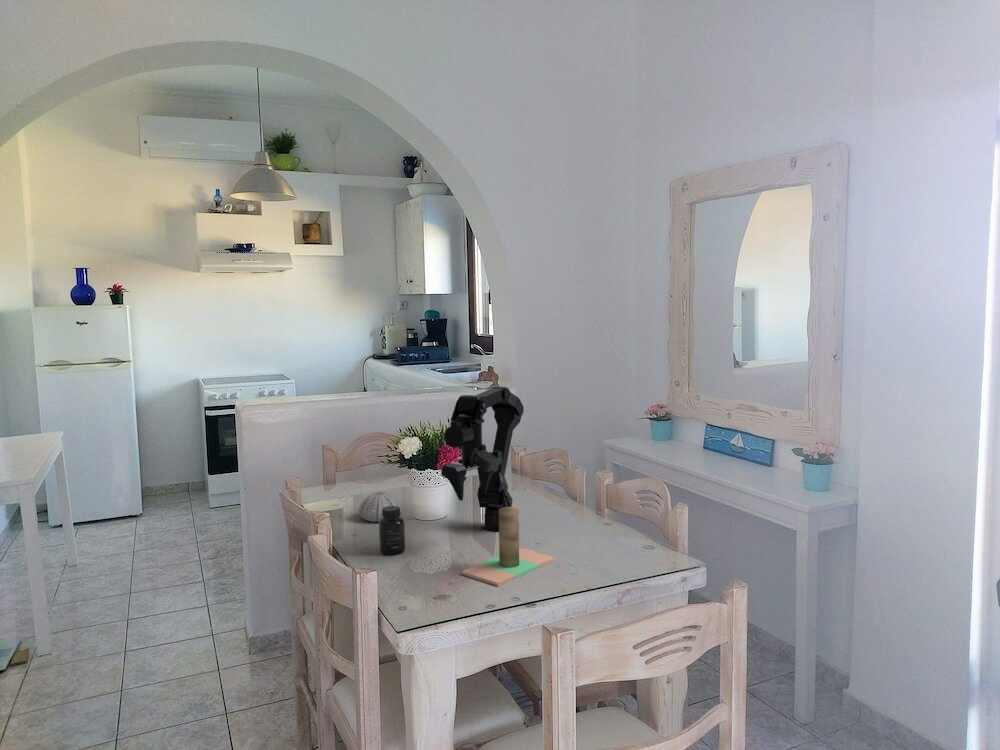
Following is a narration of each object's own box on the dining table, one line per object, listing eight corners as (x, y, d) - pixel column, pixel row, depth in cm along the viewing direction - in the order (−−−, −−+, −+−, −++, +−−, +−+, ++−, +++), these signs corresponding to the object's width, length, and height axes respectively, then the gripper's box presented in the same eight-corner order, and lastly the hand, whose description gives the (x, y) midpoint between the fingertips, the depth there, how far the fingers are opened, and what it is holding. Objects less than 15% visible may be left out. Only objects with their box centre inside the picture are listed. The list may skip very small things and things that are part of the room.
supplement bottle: (377, 549, 198) (376, 506, 197) (402, 546, 200) (400, 503, 199) (382, 557, 191) (381, 513, 190) (408, 554, 194) (406, 510, 193)
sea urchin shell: (401, 510, 235) (400, 486, 234) (402, 523, 221) (401, 497, 221) (359, 513, 233) (358, 488, 232) (358, 525, 219) (357, 500, 219)
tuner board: (519, 550, 195) (519, 547, 195) (554, 560, 187) (554, 557, 187) (461, 574, 179) (461, 571, 179) (498, 586, 171) (498, 583, 171)
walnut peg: (502, 559, 186) (501, 506, 185) (521, 561, 185) (520, 507, 183) (497, 566, 181) (496, 511, 180) (516, 568, 180) (515, 513, 178)
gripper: (469, 450, 187) (470, 509, 188) (516, 439, 201) (516, 494, 202) (439, 445, 194) (440, 502, 196) (486, 434, 208) (487, 488, 210)
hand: (472, 496), depth 201 cm, fingers open, 9 cm apart
